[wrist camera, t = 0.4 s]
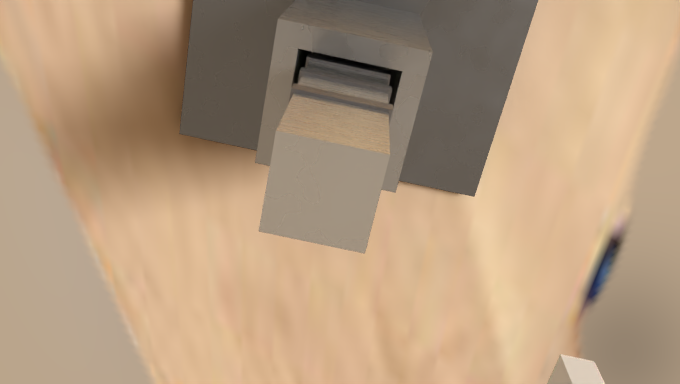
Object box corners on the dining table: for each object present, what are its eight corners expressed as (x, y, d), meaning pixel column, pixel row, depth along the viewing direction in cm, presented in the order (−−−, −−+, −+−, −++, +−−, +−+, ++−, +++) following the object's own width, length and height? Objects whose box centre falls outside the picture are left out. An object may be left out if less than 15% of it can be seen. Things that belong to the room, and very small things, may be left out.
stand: (208, -105, 40) (133, -111, 28) (542, -30, 41) (611, -4, 29) (184, 128, 47) (114, 206, 35) (472, 190, 47) (503, 287, 35)
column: (325, 20, 42) (272, 125, 22) (388, 34, 42) (395, 152, 22) (313, 83, 43) (254, 234, 23) (374, 96, 43) (368, 257, 23)
